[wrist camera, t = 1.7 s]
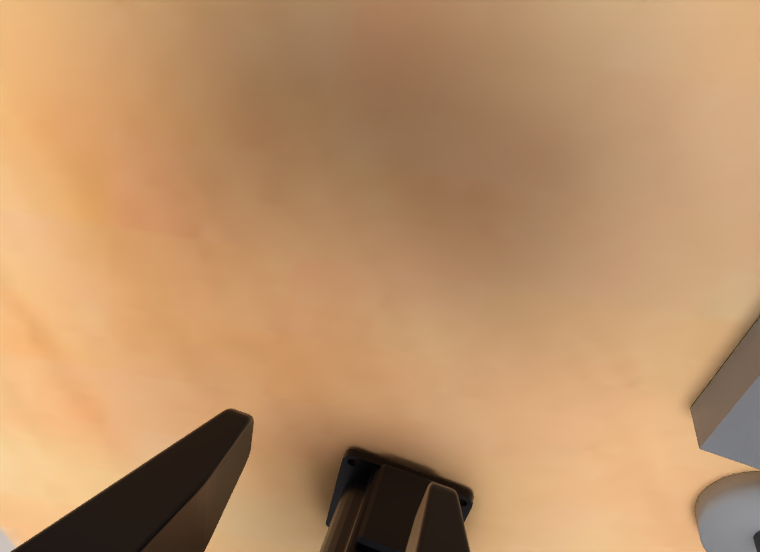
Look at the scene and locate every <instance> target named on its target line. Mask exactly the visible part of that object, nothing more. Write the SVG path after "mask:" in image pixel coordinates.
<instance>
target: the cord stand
mask: <svg viewBox="0 0 760 552" xmlns="http://www.w3.org/2000/svg"><path fill="white" fill-rule="evenodd" d="M695 515H696V520H697V525H698V530H699V535H700V540H701V543H702V545H703V547H704V549H705V550H706V552H760V471H751V472H743V473H738V474H734V475H730V476H727V477H724V478H722V479H720V480H718V481H716V482H714V483H712V484H711V485H709V486H708V487H707V488H706V489H705V490H703V491H702V493H701V494H700V495H699V497H698V499H697V501H696V505H695Z"/></svg>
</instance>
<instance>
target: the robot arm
mask: <svg viewBox="0 0 760 552" xmlns="http://www.w3.org/2000/svg"><path fill="white" fill-rule="evenodd" d="M253 424H254V420H253V417H252V416H251V415H249V414H246V413H244V412H241V411H238V410H235V409H226V410H224V411H223V412H221V413H220V414H218V415H217V416H215V417H214V418H212V419H211V420H209V421H208V422H206V423H205V424H203V425H202V426H200V427H199V428H197V429H196V430H194V431H193V432H191V433H190V434H188V435H186V436H185V437H183V438H182V439H180V440H179V441H177V442H176V443H174V444H173V445H171V446H170V447H168V448H167V449H165V450H164V451H162V452H161V453H159V454H158V455H156V456H155V457H153V458H152V459H150V460H149V461H147V462H146V463H144V464H143V465H141V466H140V467H138V468H137V469H135V470H134V471H132V472H131V473H129V474H127V475H126V476H124V477H123V478H121V479H120V480H118V481H117V482H115V483H114V484H112V485H111V486H109V487H108V488H106V489H105V490H103V491H102V492H100V493H99V494H97V495H96V496H94V497H93V498H91V499H90V500H88V501H87V502H85V503H84V504H82V505H81V506H79V507H78V508H76V509H75V510H73V511H71V512H70V513H68V514H67V515H65V516H64V517H62V518H61V519H59V520H58V521H56V522H55V523H53V524H52V525H50V526H49V527H47V528H46V529H44V530H43V531H41V532H40V533H38V534H37V535H35V536H34V537H32V538H31V539H29V540H28V541H26V542H25V543H23V544H22V545H20V546H18V547H17V548H15V549H14V550H12V551H11V552H204V551H205V549H206V547H207V545H208V543H209V541H210V539H211V537H212V535H213V532H214V530H215V528H216V526H217V524H218V522H219V520H220V518H221V515H222V513H223V511H224V509H225V507H226V505H227V503H228V500H229V498H230V496H231V494H232V492H233V490H234V488H235V486H236V483H237V481H238V479H239V477H240V475H241V473H242V471H243V469H244V466H245V464H246V462H247V459H248V457H249V454H250V450H251V442H252V433H253ZM473 498H474V497H473V494H472V493H471V492H470V491H468V490H465V489H463V488H460V487H457V486H455V485H452V484H449V483H446V482H444V481H441V480H438V479H435V478H433V477H430V476H427V475H424V474H422V473H419V472H416V471H413V470H411V469H408V468H405V467H402V466H400V465H397V464H394V463H391V462H389V461H386V460H383V459H380V458H378V457H375V456H372V455H369V454H367V453H364V452H361V451H358V450H355V449H349V450H347V451H346V452H345V454H344V457H343V460H342V463H341V467H340V471H339V475H338V479H337V482H336V486H335V490H334V494H333V498H332V501H331V505H330V509H329V513H328V517H327V520H326V525H327V526H328V527H329V528H328V531H327V534H326V536H325V539H324V541H323V544H322V547H321V549H320V552H470V549H469V544H468V540H467V535H466V530H465V526H464V522H465V520H466V518H467V516H468V514H469V512H470V510H471V508H472V504H473Z"/></svg>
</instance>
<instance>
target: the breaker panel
mask: <svg viewBox="0 0 760 552" xmlns="http://www.w3.org/2000/svg"><path fill="white" fill-rule="evenodd" d="M690 409H691V414H692V418H693V423H694V427H695V432H696V436H697V440H698V445H699V449H702V450H705V451H708V452H710V453H713V454H716V455H719V456H722V457H725V458H728V459H731V460H734V461H737V462H740V463H743V464H746V465H748V466H751V467H754V468H757V469H760V317H759V318H758V320H757V321H756V322H755V324H754V325H753V326H752V328H751V329H750V330H749V331H748V333H747V334H746V335H745V337H744V338H743V339H742V341H741V342H740V343H739V345H738V346H737V347H736V349H735V350H734V351H733V353H732V354H731V355H730V357H729V358H728V359H727V361H726V362H725V363H724V365H723V366H722V367H721V369H720V370H719V371H718V373H717V374H716V375H715V376H714V378H713V379H712V380H711V382H710V383H709V384H708V386H707V387H706V388H705V390H704V391H703V392H702V394H701V395H700V396H699V398H698V399H697V400H696V402H695V403H694V404H693V406H692V407H691V408H690Z"/></svg>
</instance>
